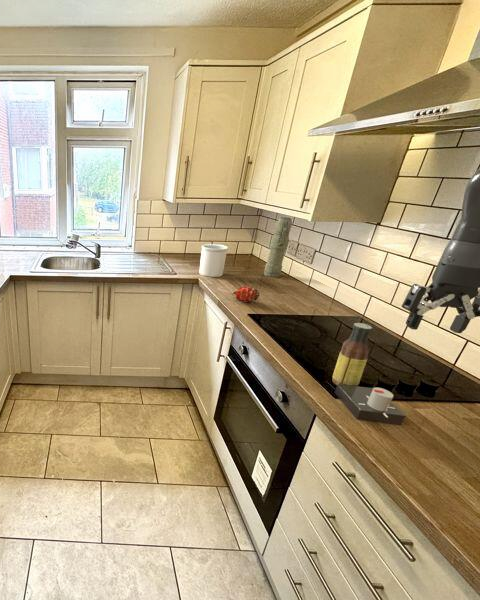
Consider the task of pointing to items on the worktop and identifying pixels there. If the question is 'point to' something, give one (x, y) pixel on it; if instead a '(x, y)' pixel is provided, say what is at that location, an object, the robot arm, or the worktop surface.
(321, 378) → the worktop surface
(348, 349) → the sauce bottle
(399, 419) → the rotary knob panel
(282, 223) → the grey green carved column
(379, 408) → the dial
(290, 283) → the worktop surface
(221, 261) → the utensil holder
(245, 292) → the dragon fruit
